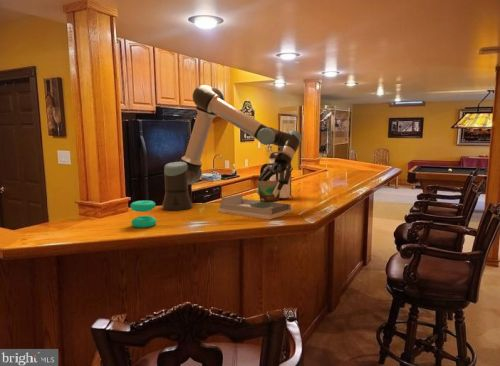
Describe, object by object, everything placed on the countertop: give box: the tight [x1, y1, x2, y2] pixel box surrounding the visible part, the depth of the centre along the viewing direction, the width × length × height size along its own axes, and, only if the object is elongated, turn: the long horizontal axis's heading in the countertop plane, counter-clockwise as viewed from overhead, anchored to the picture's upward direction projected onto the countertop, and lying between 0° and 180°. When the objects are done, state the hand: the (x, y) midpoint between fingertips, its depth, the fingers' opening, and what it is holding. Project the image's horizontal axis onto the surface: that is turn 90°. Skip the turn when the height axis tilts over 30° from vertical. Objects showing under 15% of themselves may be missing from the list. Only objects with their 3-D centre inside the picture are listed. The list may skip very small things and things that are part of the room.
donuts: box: [129, 199, 157, 229], centre depth 154 cm, size 10×10×10 cm
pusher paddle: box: [250, 202, 270, 208], centre depth 178 cm, size 6×14×4 cm, turn 142°
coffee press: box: [259, 146, 294, 201], centre depth 211 cm, size 17×16×30 cm
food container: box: [256, 179, 280, 203], centre depth 172 cm, size 12×6×10 cm, turn 112°
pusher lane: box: [217, 193, 294, 220], centre depth 178 cm, size 30×20×6 cm, turn 52°
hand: (266, 194), depth 170 cm, fingers closed on food container, 8 cm apart
